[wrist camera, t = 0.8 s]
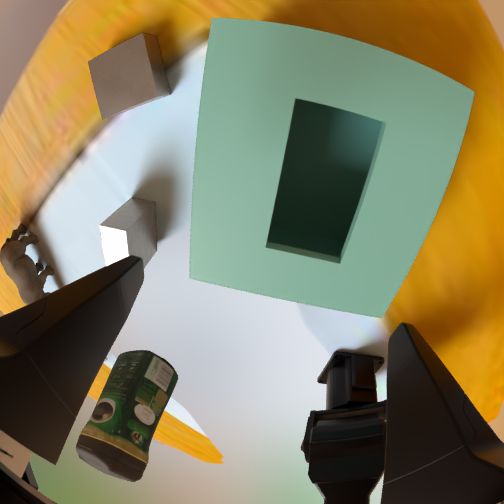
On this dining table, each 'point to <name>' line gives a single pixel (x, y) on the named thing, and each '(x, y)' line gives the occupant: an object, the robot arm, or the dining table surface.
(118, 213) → the block
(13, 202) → the dining table surface
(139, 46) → the block
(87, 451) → the coffee jar
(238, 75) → the teal box
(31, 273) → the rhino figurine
